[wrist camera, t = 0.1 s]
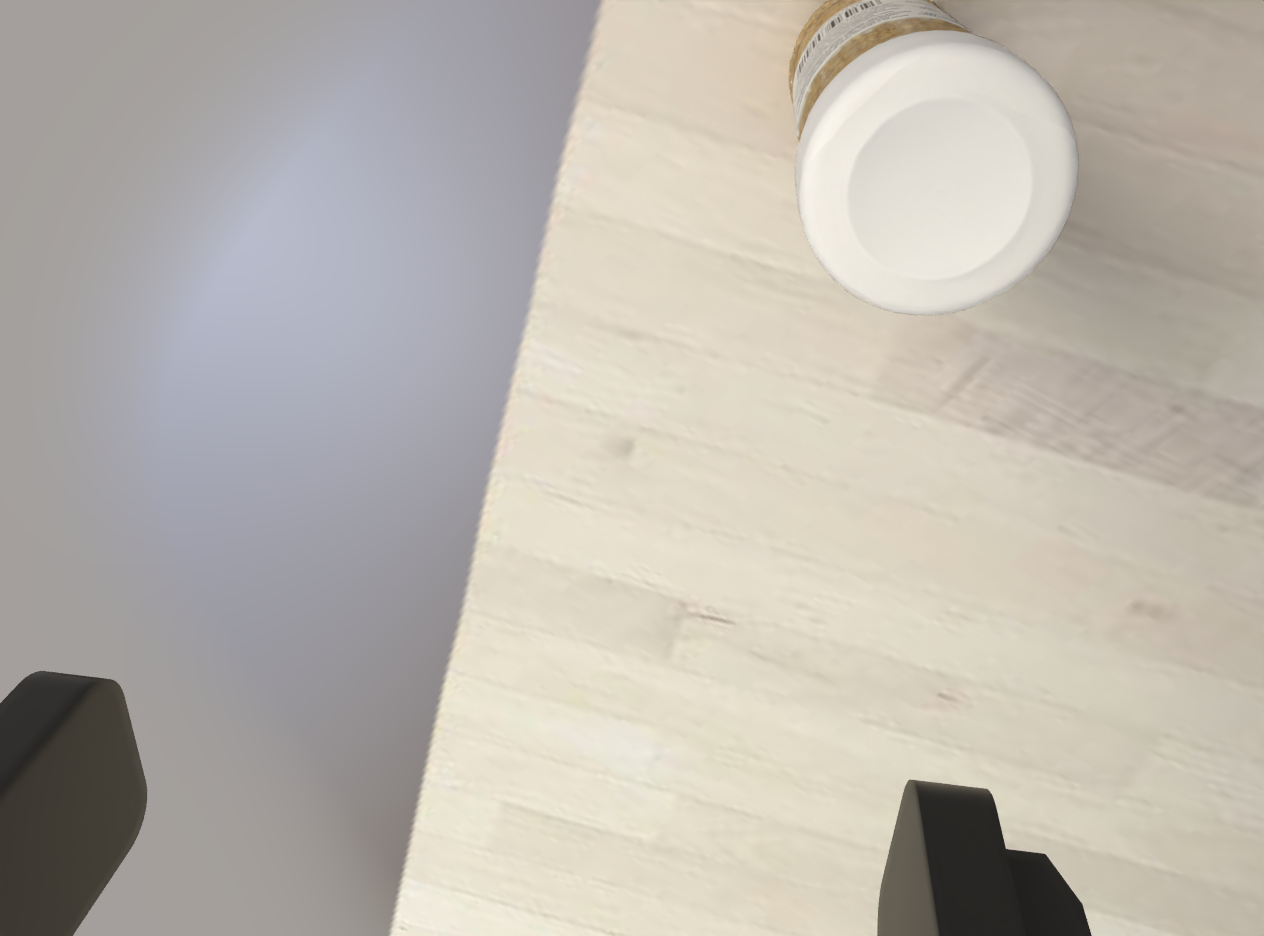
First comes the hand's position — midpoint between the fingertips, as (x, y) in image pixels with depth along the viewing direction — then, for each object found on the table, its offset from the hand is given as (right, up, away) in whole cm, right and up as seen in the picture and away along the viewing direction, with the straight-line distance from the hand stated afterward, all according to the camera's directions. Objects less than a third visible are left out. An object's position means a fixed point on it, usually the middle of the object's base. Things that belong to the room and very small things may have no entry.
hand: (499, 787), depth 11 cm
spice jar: (+8, +14, +18) cm, 25 cm away
